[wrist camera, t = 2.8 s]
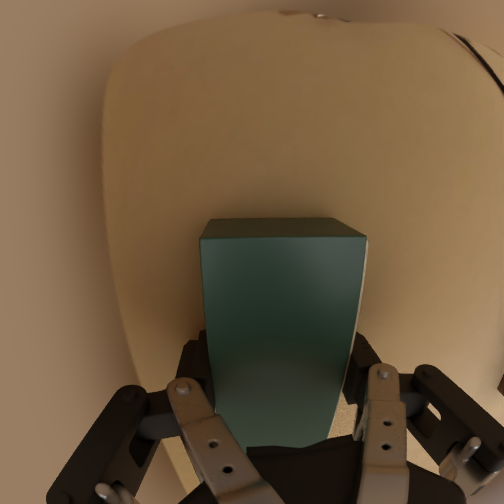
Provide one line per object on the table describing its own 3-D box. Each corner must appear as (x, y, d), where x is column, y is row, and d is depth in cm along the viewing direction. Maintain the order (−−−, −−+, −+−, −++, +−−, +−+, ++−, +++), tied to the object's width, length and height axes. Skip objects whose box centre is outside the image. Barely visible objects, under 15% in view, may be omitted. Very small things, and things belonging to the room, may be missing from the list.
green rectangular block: (209, 219, 12) (198, 238, 9) (338, 217, 12) (372, 235, 9) (224, 415, 15) (223, 458, 12) (314, 409, 16) (326, 450, 12)
